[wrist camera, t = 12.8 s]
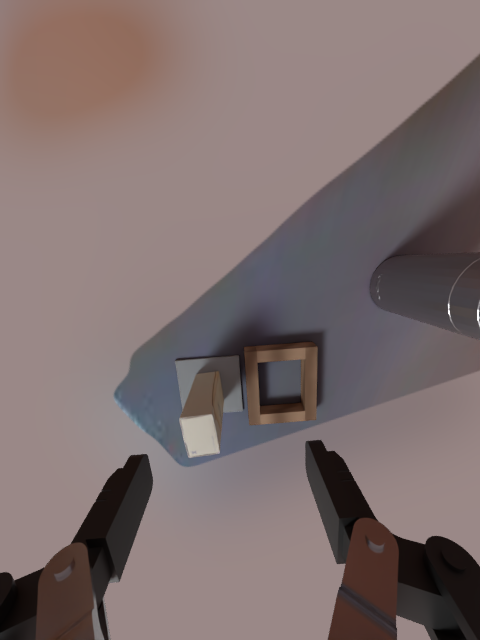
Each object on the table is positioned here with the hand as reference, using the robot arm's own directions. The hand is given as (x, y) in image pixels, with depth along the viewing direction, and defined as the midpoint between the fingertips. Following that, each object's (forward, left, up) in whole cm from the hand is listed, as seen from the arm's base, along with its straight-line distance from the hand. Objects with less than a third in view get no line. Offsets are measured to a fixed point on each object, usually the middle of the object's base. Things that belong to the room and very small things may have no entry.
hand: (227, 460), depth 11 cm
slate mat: (+5, +12, -28) cm, 31 cm away
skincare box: (+5, +12, -28) cm, 30 cm away
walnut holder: (-8, +12, -28) cm, 31 cm away
